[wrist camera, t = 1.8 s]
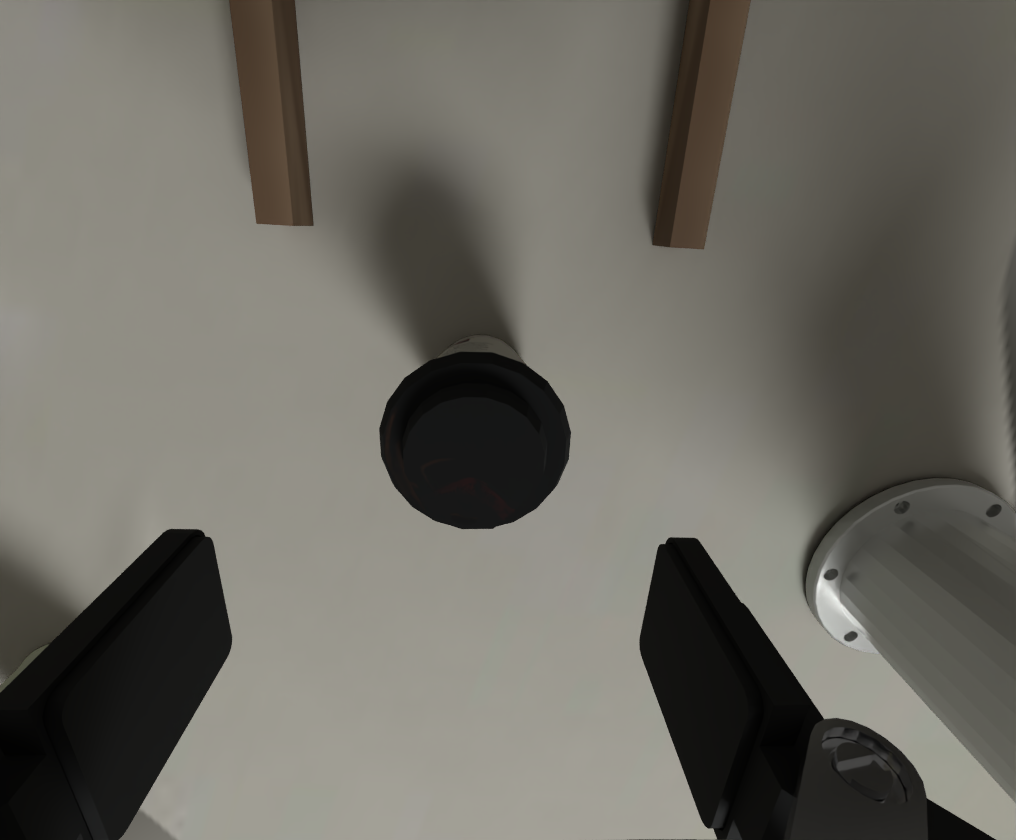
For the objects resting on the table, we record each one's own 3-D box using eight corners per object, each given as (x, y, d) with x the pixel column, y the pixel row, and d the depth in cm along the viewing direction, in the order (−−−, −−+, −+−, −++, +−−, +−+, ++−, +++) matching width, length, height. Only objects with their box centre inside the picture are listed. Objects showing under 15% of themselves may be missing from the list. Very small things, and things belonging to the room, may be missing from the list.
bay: (762, -211, 18) (823, -311, 15) (683, 247, 24) (714, 250, 20) (228, -266, 17) (164, -386, 14) (280, 223, 23) (244, 223, 20)
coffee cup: (422, 298, 24) (380, 343, 15) (560, 324, 25) (600, 383, 16) (406, 427, 27) (360, 535, 17) (532, 448, 27) (552, 561, 18)
